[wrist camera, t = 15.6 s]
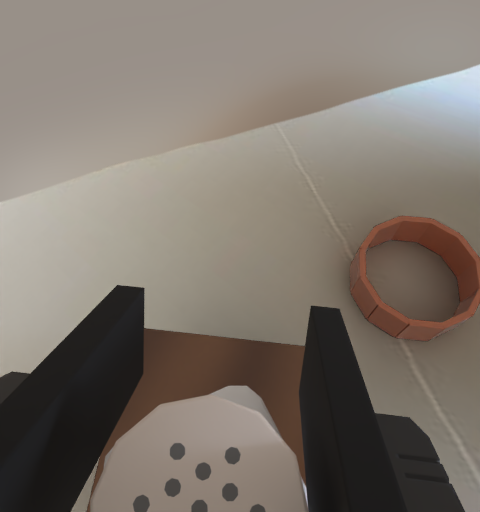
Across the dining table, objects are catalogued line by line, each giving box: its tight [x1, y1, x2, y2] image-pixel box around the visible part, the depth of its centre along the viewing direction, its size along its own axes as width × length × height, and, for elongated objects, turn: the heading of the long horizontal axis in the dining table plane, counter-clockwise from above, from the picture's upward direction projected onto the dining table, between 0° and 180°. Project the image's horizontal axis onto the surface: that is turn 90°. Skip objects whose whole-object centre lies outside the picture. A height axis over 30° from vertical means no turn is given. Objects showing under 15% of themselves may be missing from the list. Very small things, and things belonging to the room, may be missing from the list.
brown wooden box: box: [87, 328, 306, 512], centre depth 24 cm, size 12×14×10 cm
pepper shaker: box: [90, 386, 309, 512], centre depth 10 cm, size 4×4×10 cm
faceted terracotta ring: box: [350, 216, 480, 341], centre depth 34 cm, size 9×9×3 cm
